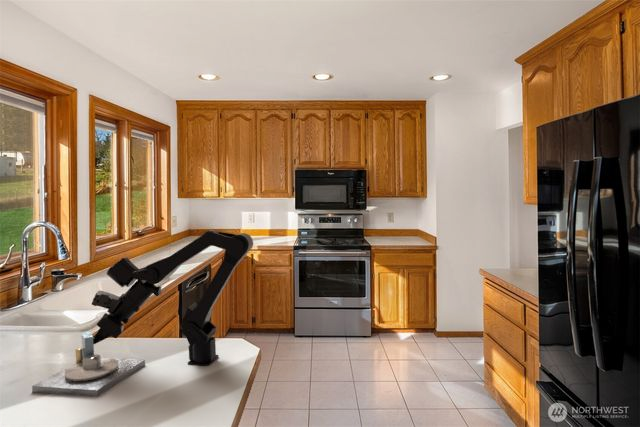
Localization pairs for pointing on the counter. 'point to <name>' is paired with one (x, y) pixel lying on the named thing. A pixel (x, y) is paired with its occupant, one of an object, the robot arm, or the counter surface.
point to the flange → (90, 363)
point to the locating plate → (88, 387)
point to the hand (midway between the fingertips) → (92, 342)
